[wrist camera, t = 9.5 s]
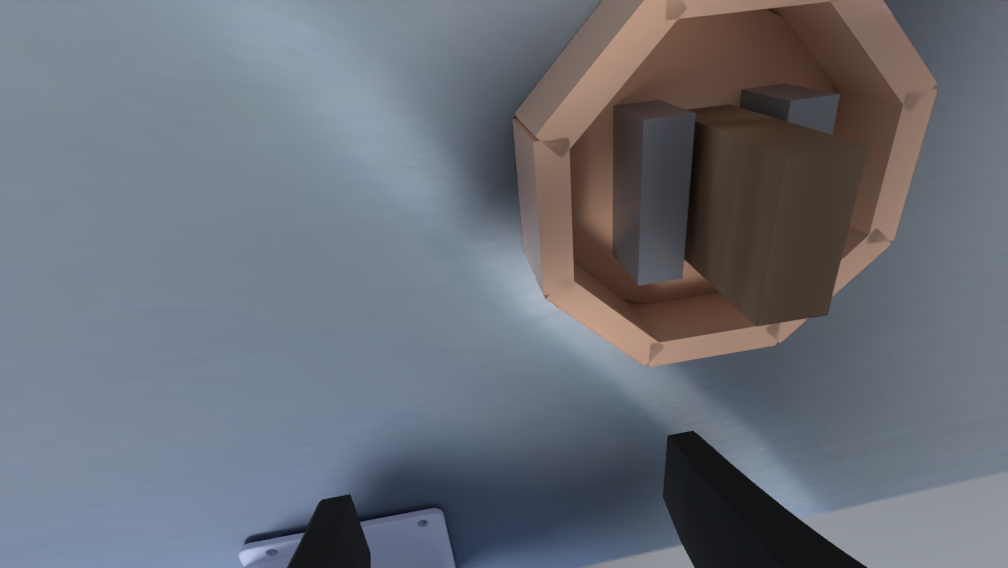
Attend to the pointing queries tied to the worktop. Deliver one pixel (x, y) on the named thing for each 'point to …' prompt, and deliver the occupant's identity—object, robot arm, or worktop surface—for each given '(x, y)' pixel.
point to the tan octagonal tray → (669, 146)
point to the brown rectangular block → (769, 211)
